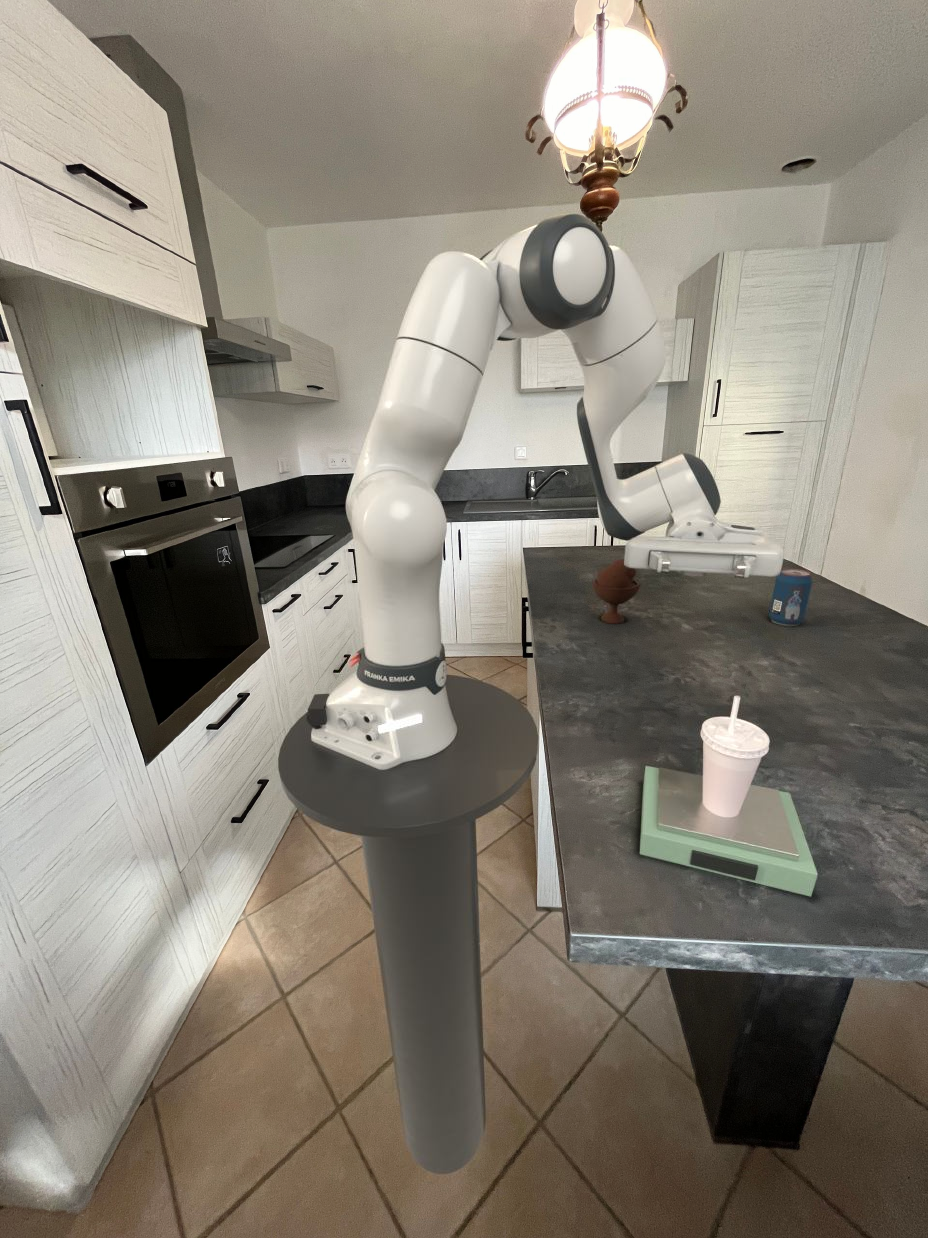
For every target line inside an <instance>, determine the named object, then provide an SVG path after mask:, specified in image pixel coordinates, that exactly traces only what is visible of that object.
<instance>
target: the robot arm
mask: <svg viewBox="0 0 928 1238" xmlns="http://www.w3.org/2000/svg"><path fill="white" fill-rule="evenodd" d="M661 327H662V326H661V324H660V321H659V318H658V314H657V312H656V308H655V307H654V304H653V302H652V299H651V296H650V295H649V292H648V290H647V288H646V286H645V284H644V282H643V280H642V277H641V275H640V274H639V272H638V270H637V268H636V266H635V265H634V264H633V261H632V260H631V258H630V257H629V255H628V254H627V253H626V251H624V250H623V249H622V248H620V247H618V246H615V245H609V243H608V240H607V239H606V236H605V235H604V234H603V232H602V231H601V229H600V228H599V227H598V225H596V224H595V223H594V222H593V221H592V220H591V219H589V218H588V217H586V216H584V215H582V214H580V213H560V214H556V215H555V214H554V215H552V216H549V217H546V218H544V219H543V220H541V221H540V222H539V223H538V224H535V225H533V226H530V227H528V228H526V229H524V230H523V229H522V230H520V231H517V232H516V233H514V234H512V235H511V236H509V237H507V238H506V239H505V240H503V241H502V242H501V243H500V244H498V245H497V246H496V247H494V248H493V249H490V250H489V251H488V252H486V253H485V254H483V255H482V256H481V257H480V258H478V257H476V256H475V255H473V254H470V253H467V252H463V251H460V250H459V251H458V250H456V251H455V250H449V251H448V250H447V251H444V252H441V253H439V254H437V255H435V256H434V257H433V258H432V259H431V260H430V261H429V262H428V263H427V265H426V267H425V268H424V270H423V273H422V274H421V276H420V278H419V280H418V282H417V284H416V286H415V289H414V291H413V293H412V296H411V298H410V300H409V302H408V305H407V308H406V310H405V313H404V316H403V318H402V321H401V324H400V326H399V331H398V333H397V337H396V340H395V343H394V347H393V350H392V354H391V357H390V361H389V363H388V368H387V371H386V374H385V378H384V381H383V384H382V388H381V391H380V395H379V397H378V401H377V405H376V408H375V411H374V414H373V417H372V420H371V422H370V426H369V429H368V431H367V434H366V437H365V440H364V443H363V445H362V449H361V451H360V455H359V458H358V460H357V463H356V466H355V469H354V473H353V476H352V479H351V482H350V485H349V489H348V491H347V495H346V499H345V512H346V513H345V514H346V518H347V521H348V523H349V526H350V530H351V532H352V539H353V547H354V556H355V557H354V558H355V567H356V579H357V581H356V582H357V595H358V608H359V615H360V624H361V625H360V626H361V632H362V640H363V647H362V648H360V649H359V650H357V652H356V655H354V656H352V657H351V658H350V659H349V660H348V661H349V662H351V663H350V664H349V667H350V668H352V667H354V666H355V665H357V664H358V665H357V669H356V670H355V671H354V672H353V673H352V674H350V675H349V676H348V677H347V678H346V679H344V680H343V681H342V682H341V683H340V684H338V685H337V686H336V687H335V688H334V689H333V690H332V691H331V692H330V693H317V694H316V693H315V694H314V695H313V697H312V698H311V701H310V703H309V706H308V708H307V711H306V712H307V715H306V719H307V721H308V723H309V724H310V725H311V726H312V727H313V729H312V732H311V740H312V741H313V742H315V743H317V744H320V745H322V746H324V747H327V748H329V749H331V750H334V751H336V752H339V753H341V754H343V755H346V756H348V757H351V758H353V759H355V760H358V761H360V762H363V763H365V764H367V765H370V766H372V767H374V768H377V769H380V770H386V769H389V768H392V767H394V766H397V765H399V764H401V763H403V762H407V761H413V760H418V759H422V758H426V757H429V756H432V755H434V754H436V753H438V752H440V751H442V750H443V749H445V748H446V747H447V746H449V745H450V744H451V742H452V741H453V740H454V738H455V736H456V734H457V725H456V723H455V721H454V718H453V715H452V712H451V709H450V705H449V701H448V697H447V692H446V685H445V684H446V675H448V674H447V673H448V672H447V669H448V668H447V660H446V650H445V645H444V644H443V642H442V627H441V609H440V588H441V577H442V569H443V557H444V543H445V540H446V536H447V529H448V523H447V516H446V512H445V510H444V507H443V504H442V501H441V499H440V498H439V497H440V496H438V494H437V493H436V488H437V485H438V484H439V481H440V479H441V477H442V475H443V473H444V471H445V469H446V467H447V465H448V463H449V461H450V460H451V458H452V455H453V454H454V452H455V450H457V449H458V447H459V445H460V444H461V442H462V440H463V437H464V434H465V431H466V428H467V425H468V421H469V419H470V417H471V413H472V410H473V407H474V404H475V401H476V398H477V396H478V392H479V390H480V386H481V383H482V380H483V377H484V374H485V371H486V368H487V364H488V361H489V357H490V354H491V351H492V350H493V347H494V345H495V344H496V342H497V341H500V342H509V341H514V340H517V339H536V338H540V337H544V336H547V335H550V334H553V333H555V332H557V331H559V330H560V331H562V332H563V334H564V335H565V336H566V337H567V338H568V339H569V341H570V343H571V346H572V349H573V351H574V354H575V356H576V359H577V361H578V363H579V366H580V368H581V371H582V375H583V384H584V385H583V393H582V396H581V397H580V399H579V401H578V402H577V404H576V419H577V420H576V421H577V427H578V431H579V434H580V438H581V439H580V440H581V444H582V447H583V451H584V454H585V455H584V456H585V459H586V462H587V466H588V469H589V470H588V471H589V473H590V477H591V481H592V484H593V488H594V492H595V496H596V504H597V513H598V517H599V521H600V524H601V527H602V528H603V530H604V531H605V533H606V534H607V535H608V536H610V537H612V538H615V539H618V540H621V541H626V542H627V543H625V546H624V558H623V559H624V565H625V566H626V567H629V568H635V569H636V570H639V569H640V570H652V571H656V573H663V574H668V573H670V572H677V573H678V574H680V575H683V576H686V577H693V578H694V577H695V578H697V577H705V576H707V575H717V574H719V575H733V576H734V578H739V579H741V578H742V579H748V578H750V576H751V577H765V578H776V577H777V576H778V575H779V574H780V572H781V570H782V567H783V564H784V563H783V562H784V559H785V558H784V557H785V551H784V549H783V548H782V546H780V545H779V543H778V542H776V541H775V540H774V539H772V538H770V537H768V536H765V535H764V534H765V533H764V532H765V531H764V530H763V529H762V528H759V527H753V526H746V525H738V524H730V523H728V522H724V521H721V520H719V519H718V518H717V517H716V516H717V514H718V512H719V510H720V507H721V503H722V499H721V495H720V492H719V487H718V486H717V482H716V481H715V478H714V476H713V474H712V472H711V471H710V469H709V467H708V465H706V463H705V462H704V460H703V459H702V458H700V457H698V456H695V455H694V454H691V453H687V452H682V453H679V454H678V455H676V456H675V455H674V456H673V457H671V458H668V459H667V460H664V461H662V462H660V463H658V464H655V465H654V466H652V467H650V468H647V469H646V470H644V471H641V472H639V473H637V474H634V475H632V476H629V477H628V478H623V479H620V478H618V475H617V472H616V471H617V470H616V467H615V463H614V458H613V454H612V451H611V440H612V438H613V436H614V434H615V432H616V431H617V429H618V428H619V427H620V425H621V424H623V422H624V421H625V420H626V419H627V418H628V417H629V416H630V415H631V414H632V413H633V412H634V410H636V409H637V408H638V407H639V406H640V405H641V404H642V403H643V402H644V401H645V400H646V399H647V398H648V396H649V395H650V394H651V392H652V391H653V390H654V388H655V387H656V385H657V383H658V382H659V380H660V378H661V375H662V373H663V371H664V368H665V366H666V365H665V364H666V359H667V350H666V344H665V340H664V335H663V331H662V328H661ZM665 524H667V527H666V530H665V535H664V536H650V535H647V536H646V535H645V536H643V535H644V534H645V533H646V532H647V531H650V530H652V529H655V528H658V527H661V526H663V525H665ZM642 534H643V535H642Z"/></svg>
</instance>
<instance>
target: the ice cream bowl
mask: <svg viewBox="0 0 928 1238" xmlns="http://www.w3.org/2000/svg"><path fill="white" fill-rule="evenodd" d="M636 575H637V569H635V568H629V567H626V566H625V565H624V558H619V559H616V560H614V561H613V562H612V563H611V564H610V565H607V566H606V567H605V568H603V569H601V570H600V571H599V572H597V577H595V578H593V579H592V580H591V583H592V588H593V590H594V593H595V594H596V596H597V597H598V598H599V599H600V600H601V601H603V602H604V603H607V604H609V612H606V613H604V614H603V615H602V616H601V617H600V619H601V621H602V622H604V623H607V624H608V623H609V624H622V623H623V622H624V621H625V619H626V618H625V617H624V616H623V615H622V614H621V613H619V612H618V608H619V605H622V604H625V603H626V602H628V601H630V600H632V599H633V598H634V597H635V596H636V595H637V594H638V592H639V590H640V588H641V582H639V581H638V579H635V577H636Z"/></svg>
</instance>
